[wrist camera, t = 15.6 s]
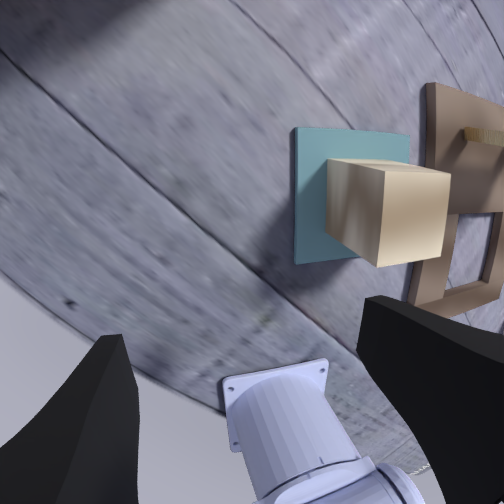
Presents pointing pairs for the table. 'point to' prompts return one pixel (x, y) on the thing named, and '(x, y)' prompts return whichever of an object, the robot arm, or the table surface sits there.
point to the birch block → (387, 209)
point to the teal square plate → (315, 182)
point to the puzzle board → (462, 197)
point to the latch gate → (484, 136)
